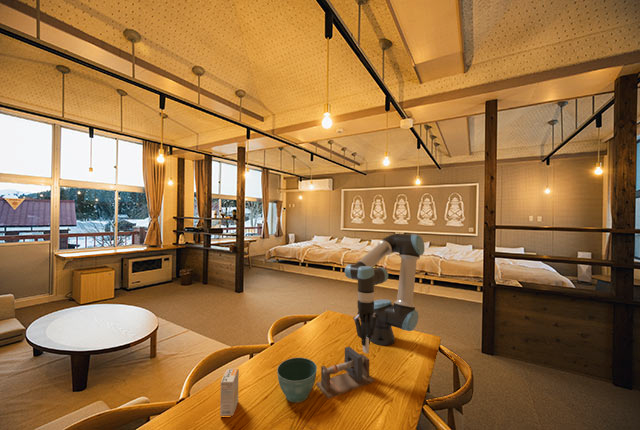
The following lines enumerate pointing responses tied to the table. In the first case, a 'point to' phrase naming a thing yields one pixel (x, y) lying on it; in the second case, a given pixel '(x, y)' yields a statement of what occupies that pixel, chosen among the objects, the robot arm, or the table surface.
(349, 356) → the ring
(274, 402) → the table surface
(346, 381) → the pipe stand
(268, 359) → the table surface
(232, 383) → the supplement box
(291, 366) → the flower pot
